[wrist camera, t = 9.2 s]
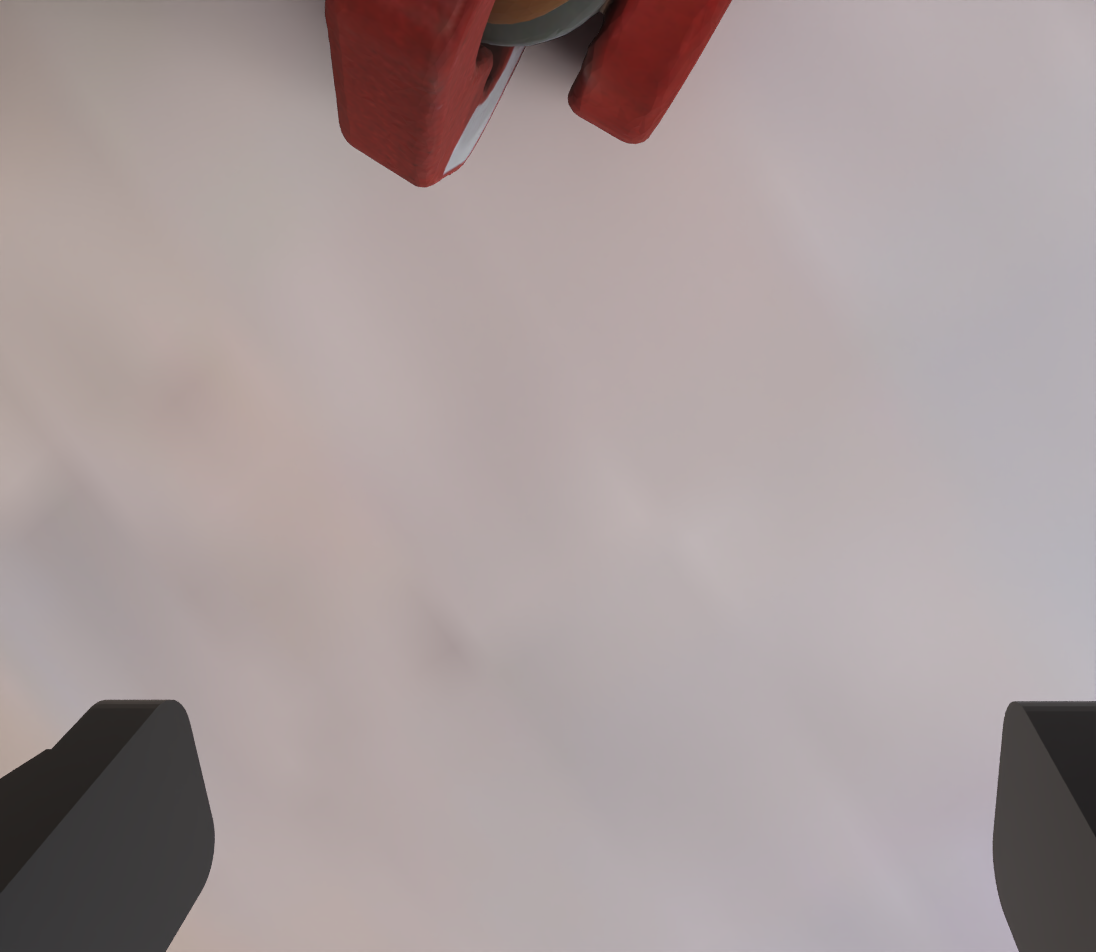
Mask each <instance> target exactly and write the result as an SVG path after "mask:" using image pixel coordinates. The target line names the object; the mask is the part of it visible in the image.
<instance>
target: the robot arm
mask: <svg viewBox="0 0 1096 952" xmlns="http://www.w3.org/2000/svg"><path fill="white" fill-rule="evenodd" d="M214 843H215V833H214V823H213V818H212V814H211V810H210V805H209V801H208V797H207V793H206V788H205V784H204V780H203V776H202V771H201V767H200V763H199V759H198V754H197V750H196V746H195V742H194V737H193V733H192V729H191V725H190V721H189V718H188V715H187V713H186V710H185V709H184V707H183V706H182V705H181V704H180V703H179V702H177V701H175V700H103V701H99V702H98V703H96V704H94V705H93V706H92V707H91V708H90V709H89V710H88V711H87V712H86V713H85V714H84V715H83V716H82V717H81V718H80V719H79V721H78V722H77V723H76V724H75V725H74V726H73V727H72V728H71V729H70V730H69V731H68V732H67V733H66V734H65V735H64V736H63V737H62V738H61V740H60V741H59V742H58V743H57V744H56V745H55V746H54V747H53V748H52V749H46V750H45V751H43V752H41V753H40V754H38V755H37V756H35V757H34V758H32V759H30V760H29V761H27V762H26V763H24V764H23V765H21V766H19V767H18V768H16V769H15V770H13V771H12V772H10V773H8V774H7V775H5V776H4V777H2V778H1V779H0V952H166V950H167V948H168V947H169V945H170V943H171V942H172V940H173V938H174V937H175V935H176V933H177V932H178V930H179V928H180V926H181V925H182V923H183V921H184V920H185V918H186V916H187V915H188V913H189V911H190V910H191V908H192V906H193V905H194V903H195V901H196V900H197V898H198V896H199V894H200V893H201V891H202V889H203V887H204V885H205V883H206V881H207V878H208V875H209V872H210V869H211V865H212V860H213V854H214ZM993 863H994V872H995V879H996V885H997V890H998V895H999V899H1000V902H1001V906H1002V909H1003V912H1004V915H1005V917H1006V920H1007V922H1008V925H1009V927H1010V930H1011V933H1012V935H1013V938H1014V940H1015V943H1016V945H1017V948H1018V950H1019V952H1096V701H1015V702H1012V703H1010V704H1009V706H1008V707H1007V710H1006V713H1005V717H1004V723H1003V733H1002V744H1001V755H1000V765H999V776H998V787H997V798H996V809H995V820H994V831H993Z"/></svg>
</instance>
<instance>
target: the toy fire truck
mask: <svg viewBox="0 0 1096 952" xmlns="http://www.w3.org/2000/svg"><path fill="white" fill-rule="evenodd" d="M731 1H732V0H325V17H326V23H327V28H328V37H329V42H330V49H331V60H332V67H333V76H334V85H335V91H336V98H337V108H338V117H339V124H340V128H341V132H342V134H343V136H344V137H345V139H346V141H347V142H348V143H349V144H350V145H352V146H353V147H354V148H356V149H358V150H359V151H361V152H362V153H364V154H366V155H367V156H369V157H370V158H372V159H373V160H375V161H377V162H378V163H380V164H381V165H383V166H385V167H386V168H388V169H389V170H391V171H393V172H394V173H396V174H397V175H399V176H401V177H402V178H404V179H405V180H407V181H409V182H410V183H412V184H413V185H415V186H418V187H428V186H431V185H434V184H435V183H437V182H439V181H440V180H441V179H442V178H444V177H446V176H447V175H451V173H453V172H455V171H457V170H458V169H459V168H460V167H461V166H462V165H463V164H464V163H465V161H466V160H467V158H468V157H469V155H470V154H471V152H472V151H473V149H474V147H475V146H476V144H477V142H478V140H479V138H480V137H481V135H482V133H483V131H484V129H485V127H486V125H487V123H488V122H489V120H490V118H491V116H492V114H493V112H494V110H495V108H496V106H497V104H498V102H499V100H500V98H501V96H502V94H503V92H504V90H505V88H506V86H507V84H508V82H509V80H510V78H511V76H512V74H513V72H514V70H515V68H516V66H517V64H518V62H519V59H520V57H521V55H522V53H523V51H524V49H525V47H526V46H531V45H535V44H538V43H542V42H546V41H549V40H552V39H555V38H558V37H561V36H564V35H566V34H568V33H569V32H571V31H573V30H574V29H576V28H578V27H580V26H581V25H582V24H583V23H584V22H585V21H587V20H588V19H589V18H590V17H592V16H593V15H595V14H596V13H598V12H601V13H602V14H603V15H604V22H603V25H602V27H601V29H600V31H599V33H598V34H597V36H596V37H595V38H594V40H593V41H592V42H591V44H590V45H589V47H588V51H587V54H586V57H585V59H584V61H583V64H582V67H581V70H580V72H579V74H578V75H577V77H576V79H575V81H574V83H573V85H572V87H571V89H570V91H569V94H568V103H569V106H570V107H571V109H572V110H573V112H574V113H575V114H577V115H578V116H579V117H581V118H583V119H585V120H586V121H588V122H590V123H592V124H594V125H595V126H597V127H599V128H600V129H602V130H604V131H606V132H607V133H609V134H611V135H612V136H614V137H616V138H617V139H619V140H621V141H623V142H626V143H631V144H638V143H641V142H644V141H645V140H646V139H648V138H649V136H650V135H651V133H652V132H653V131H654V129H655V128H656V126H657V125H658V124H659V122H660V121H661V119H662V117H663V116H664V114H665V113H666V111H667V109H668V108H669V106H670V105H671V103H672V102H673V100H674V98H675V97H676V95H677V93H678V92H679V90H680V89H681V87H682V85H683V84H684V82H685V80H686V79H687V77H688V75H689V74H690V72H691V70H692V69H693V67H694V65H695V64H696V62H697V60H698V59H699V57H700V55H701V53H702V52H703V50H704V48H705V46H706V45H707V43H708V41H709V39H710V38H711V36H712V34H713V32H714V31H715V29H716V27H717V25H718V24H719V22H720V20H721V18H722V17H723V15H724V13H725V11H726V10H727V8H728V6H729V4H730V3H731Z"/></svg>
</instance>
